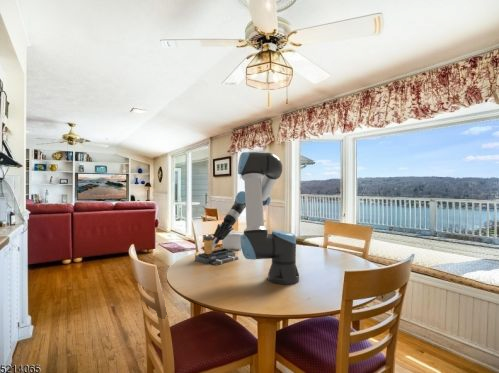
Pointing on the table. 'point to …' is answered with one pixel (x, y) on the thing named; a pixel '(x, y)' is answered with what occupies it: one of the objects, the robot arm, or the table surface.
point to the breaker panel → (214, 256)
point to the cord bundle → (224, 260)
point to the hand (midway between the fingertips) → (211, 247)
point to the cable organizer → (232, 240)
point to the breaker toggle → (207, 245)
